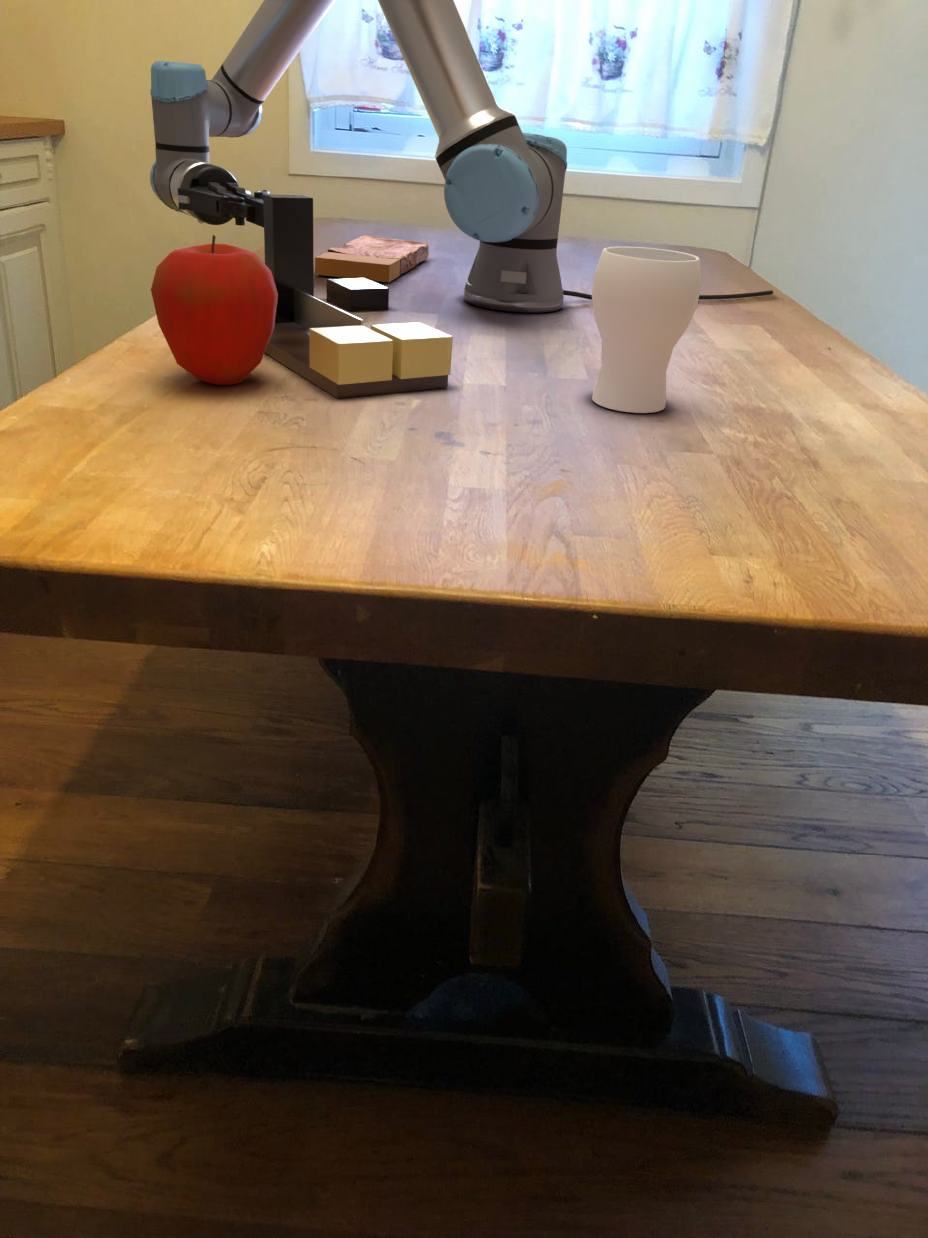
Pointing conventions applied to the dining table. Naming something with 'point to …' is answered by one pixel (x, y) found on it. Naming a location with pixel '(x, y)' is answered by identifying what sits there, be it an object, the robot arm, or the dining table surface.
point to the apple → (215, 310)
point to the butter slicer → (296, 264)
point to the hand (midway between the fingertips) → (270, 216)
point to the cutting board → (294, 353)
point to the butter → (379, 352)
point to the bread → (371, 258)
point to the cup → (641, 322)
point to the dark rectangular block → (357, 294)
